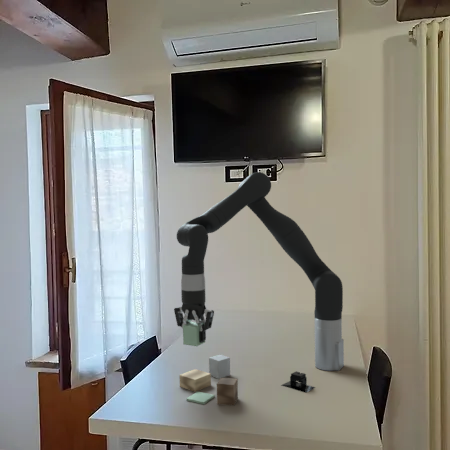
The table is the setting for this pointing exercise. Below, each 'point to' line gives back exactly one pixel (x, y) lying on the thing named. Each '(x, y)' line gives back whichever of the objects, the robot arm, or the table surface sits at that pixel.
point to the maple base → (195, 380)
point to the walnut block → (227, 391)
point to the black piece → (296, 385)
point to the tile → (200, 397)
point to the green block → (191, 334)
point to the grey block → (219, 366)
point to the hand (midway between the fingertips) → (194, 340)
